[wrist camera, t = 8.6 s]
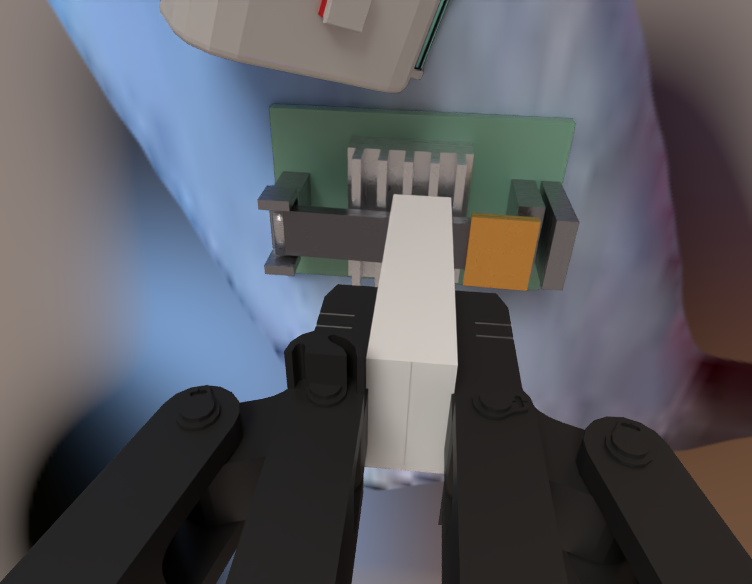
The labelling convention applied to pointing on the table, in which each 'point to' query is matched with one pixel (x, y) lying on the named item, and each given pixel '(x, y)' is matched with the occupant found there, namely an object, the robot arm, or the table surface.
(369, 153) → the heatsink
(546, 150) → the board
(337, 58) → the robotic device
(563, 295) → the table surface
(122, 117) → the table surface
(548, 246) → the lug
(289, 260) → the forked tab bracket
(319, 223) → the strap
